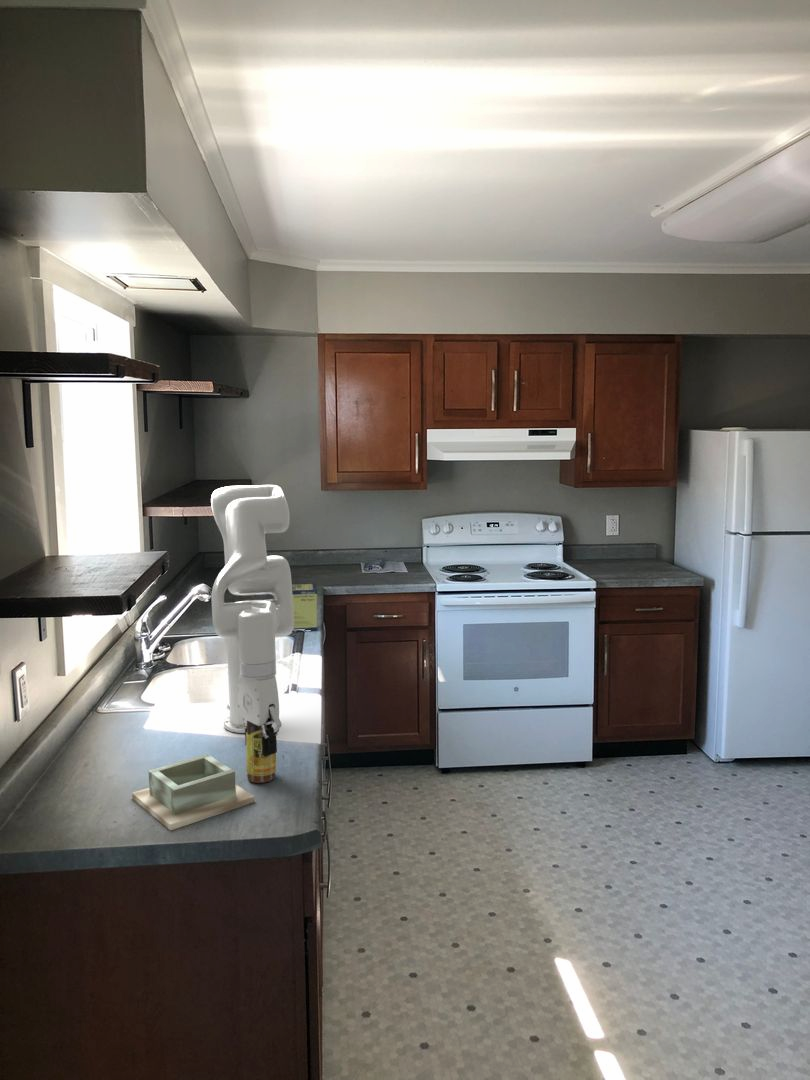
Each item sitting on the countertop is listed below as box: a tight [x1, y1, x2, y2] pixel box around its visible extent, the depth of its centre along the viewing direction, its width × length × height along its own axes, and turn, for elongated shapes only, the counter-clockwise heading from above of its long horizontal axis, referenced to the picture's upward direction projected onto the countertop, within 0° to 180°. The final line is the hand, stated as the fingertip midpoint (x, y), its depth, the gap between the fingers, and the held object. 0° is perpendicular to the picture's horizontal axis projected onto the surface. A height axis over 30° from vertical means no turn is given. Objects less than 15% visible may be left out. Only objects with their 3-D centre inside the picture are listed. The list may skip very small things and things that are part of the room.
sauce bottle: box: [245, 719, 277, 784], centre depth 181 cm, size 7×6×20 cm
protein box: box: [273, 583, 319, 632], centre depth 309 cm, size 10×16×16 cm
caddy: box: [131, 753, 255, 831], centre depth 172 cm, size 18×18×6 cm
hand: (261, 748), depth 181 cm, fingers closed on sauce bottle, 6 cm apart
